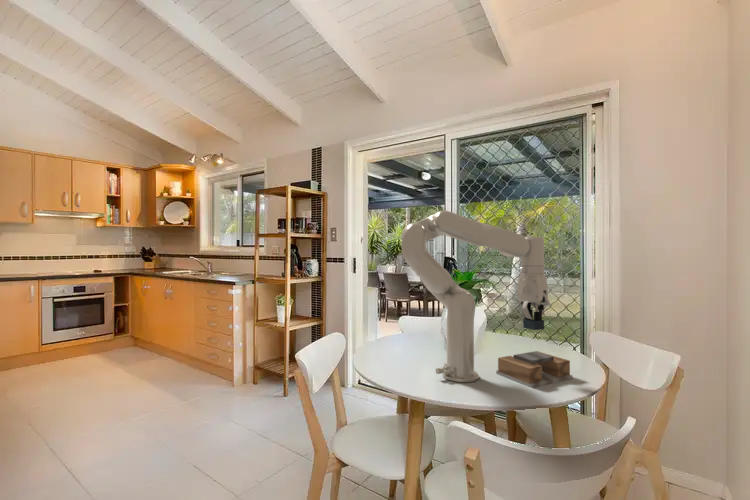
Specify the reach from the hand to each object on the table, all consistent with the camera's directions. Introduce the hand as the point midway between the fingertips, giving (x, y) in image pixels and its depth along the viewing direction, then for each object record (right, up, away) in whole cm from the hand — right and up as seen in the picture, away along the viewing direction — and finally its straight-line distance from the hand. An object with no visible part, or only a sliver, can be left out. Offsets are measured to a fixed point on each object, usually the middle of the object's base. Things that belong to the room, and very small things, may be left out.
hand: (533, 321), depth 133 cm
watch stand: (0, -20, 0) cm, 20 cm away
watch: (0, -3, 0) cm, 3 cm away
